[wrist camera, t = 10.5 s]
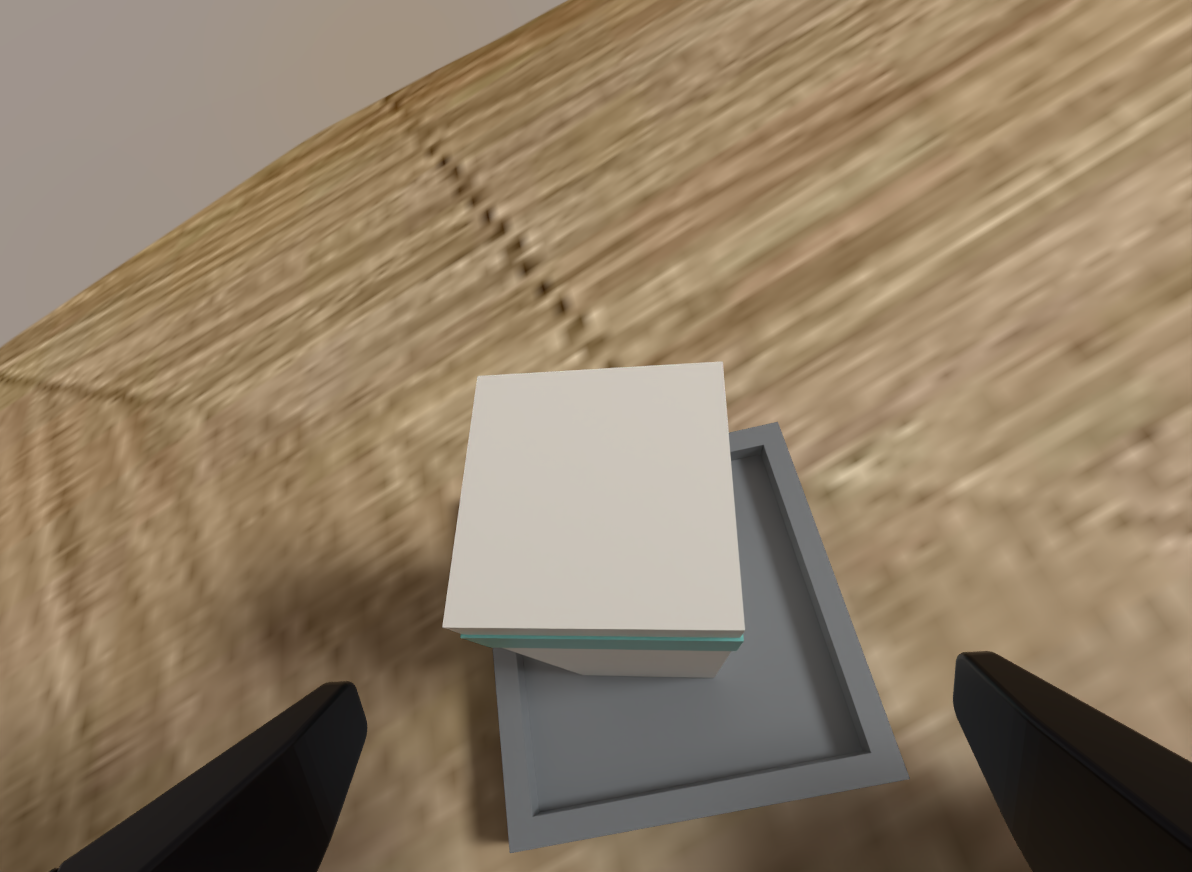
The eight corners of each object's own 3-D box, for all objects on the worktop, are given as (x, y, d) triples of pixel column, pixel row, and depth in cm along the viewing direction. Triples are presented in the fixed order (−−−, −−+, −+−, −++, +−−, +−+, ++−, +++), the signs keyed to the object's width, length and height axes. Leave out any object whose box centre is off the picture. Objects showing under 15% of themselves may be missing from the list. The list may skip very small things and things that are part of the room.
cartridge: (715, 679, 19) (749, 634, 8) (581, 676, 20) (438, 630, 9) (707, 545, 21) (724, 358, 10) (585, 546, 22) (475, 373, 11)
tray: (893, 773, 18) (910, 779, 16) (523, 842, 18) (509, 853, 17) (772, 438, 23) (777, 422, 22) (491, 501, 24) (479, 488, 22)
